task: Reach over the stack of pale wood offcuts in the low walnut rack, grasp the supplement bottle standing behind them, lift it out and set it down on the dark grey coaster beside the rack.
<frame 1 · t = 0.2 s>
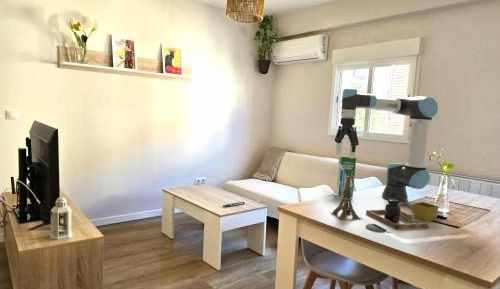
hand: (344, 156, 179), 29 cm above the table, tool pointing down, fingers open, 13 cm apart
offcut middle: (404, 219, 161), point 2 cm above the table, touching offcut bottom
coaster: (376, 228, 150), on the table
supplement bottle: (391, 224, 159), resting in rack
offcut top: (405, 216, 161), point 4 cm above the table
milk carton: (344, 194, 215), on the table
offcut bottom: (404, 223, 161), resting in rack, touching offcut middle
eiffel tower: (344, 216, 166), on the table
rack: (395, 223, 160), on the table
flower pot: (423, 222, 164), on the table
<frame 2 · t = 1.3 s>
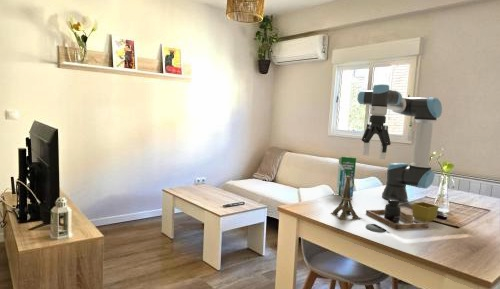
hand: (373, 157, 166), 31 cm above the table, tool pointing down, fingers open, 13 cm apart
offcut middle: (404, 219, 161), point 2 cm above the table, touching offcut bottom, offcut top
offcut top: (405, 216, 161), point 4 cm above the table, touching offcut middle
everything else where it was.
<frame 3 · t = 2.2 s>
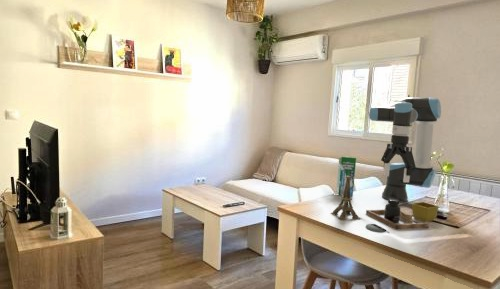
hand: (395, 179, 157), 22 cm above the table, tool pointing down, fingers open, 13 cm apart
nothing on the table moved.
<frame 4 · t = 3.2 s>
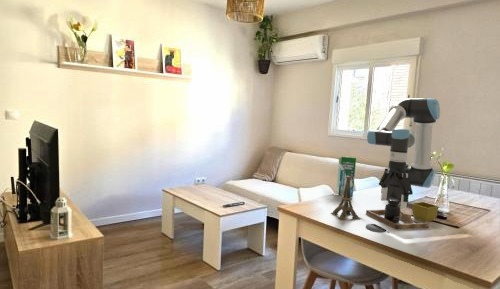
hand: (393, 204, 158), 10 cm above the table, tool pointing down, fingers open, 13 cm apart
nothing on the table moved.
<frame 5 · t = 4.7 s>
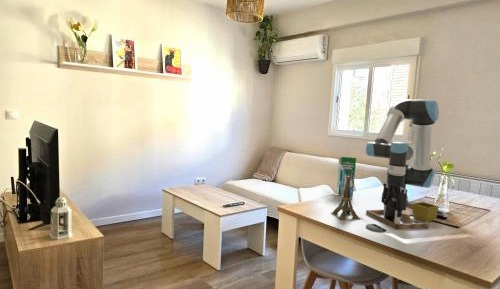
hand: (391, 220, 159), 2 cm above the table, tool pointing down, fingers closed on supplement bottle, 7 cm apart
supplement bottle: (391, 224, 159), resting in rack, touching gripper
everything else where it was.
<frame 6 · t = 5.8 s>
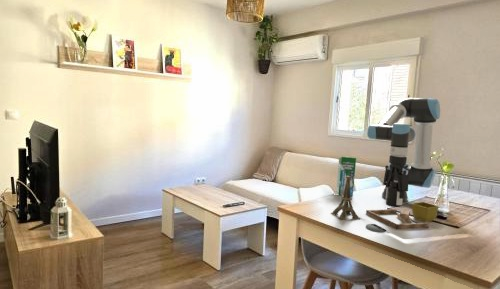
hand: (393, 202, 158), 11 cm above the table, tool pointing down, fingers closed on supplement bottle, 7 cm apart
offcut middle: (404, 220, 161), point 1 cm above the table, touching offcut bottom
supplement bottle: (393, 205, 158), point 9 cm above the table, touching gripper
offcut top: (404, 216, 161), point 3 cm above the table
everything else where it was.
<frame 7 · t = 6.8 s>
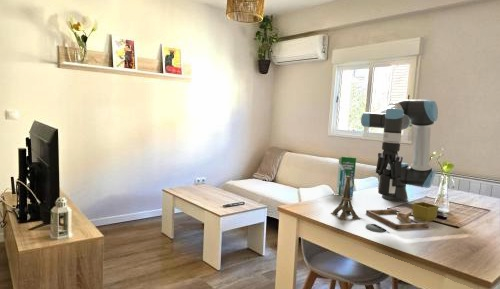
hand: (386, 191, 152), 17 cm above the table, tool pointing down, fingers closed on supplement bottle, 7 cm apart
offcut middle: (403, 220, 161), point 1 cm above the table, touching offcut bottom, offcut top
supplement bottle: (385, 194, 152), point 15 cm above the table, touching gripper
offcut top: (404, 216, 161), point 3 cm above the table, touching offcut middle
everything else where it was.
when the fingers open (3 cm above the table, at t = 9.9 s): supplement bottle drops 1 cm, resting on coaster.
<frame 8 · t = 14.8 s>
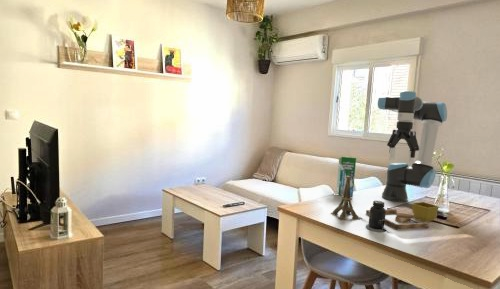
hand: (400, 161, 171), 29 cm above the table, tool pointing down, fingers open, 13 cm apart
offcut middle: (402, 220, 160), point 1 cm above the table, touching offcut bottom, offcut top
supplement bottle: (376, 227, 151), resting on coaster
at the end: supplement bottle 0.1 cm from the coaster (horizontally); supplement bottle tilted 1°; supplement bottle resting on coaster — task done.
